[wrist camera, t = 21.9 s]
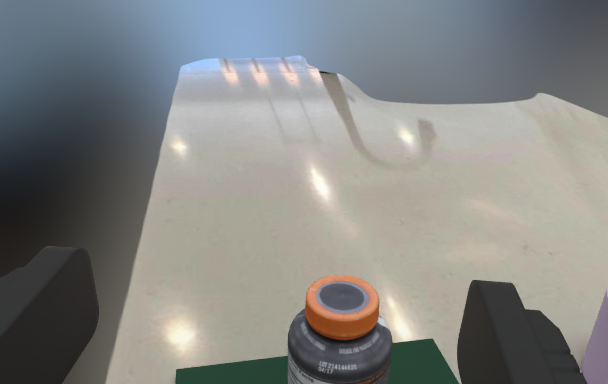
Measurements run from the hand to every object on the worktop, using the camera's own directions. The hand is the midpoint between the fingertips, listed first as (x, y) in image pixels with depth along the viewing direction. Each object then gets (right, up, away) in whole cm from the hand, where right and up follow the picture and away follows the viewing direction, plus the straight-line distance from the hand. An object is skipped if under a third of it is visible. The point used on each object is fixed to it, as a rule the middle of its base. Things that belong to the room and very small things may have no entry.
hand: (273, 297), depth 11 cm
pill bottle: (+3, -14, +22) cm, 26 cm away
